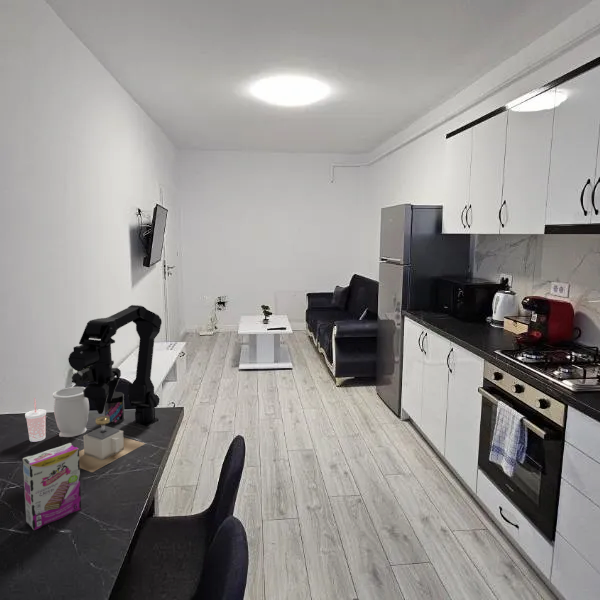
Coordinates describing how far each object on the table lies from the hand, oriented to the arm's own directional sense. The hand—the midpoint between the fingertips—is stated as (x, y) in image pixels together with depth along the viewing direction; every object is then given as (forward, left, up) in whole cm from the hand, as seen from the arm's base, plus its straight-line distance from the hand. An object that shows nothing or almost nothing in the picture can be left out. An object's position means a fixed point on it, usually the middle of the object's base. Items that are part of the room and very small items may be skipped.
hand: (105, 407), depth 142 cm
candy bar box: (+31, +18, -13) cm, 38 cm away
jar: (-1, -18, -13) cm, 22 cm away
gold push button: (+4, +3, -8) cm, 10 cm away
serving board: (+4, +3, -13) cm, 14 cm away
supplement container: (-14, -13, -13) cm, 23 cm away
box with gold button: (+4, +3, -12) cm, 13 cm away
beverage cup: (+7, -25, -13) cm, 29 cm away
